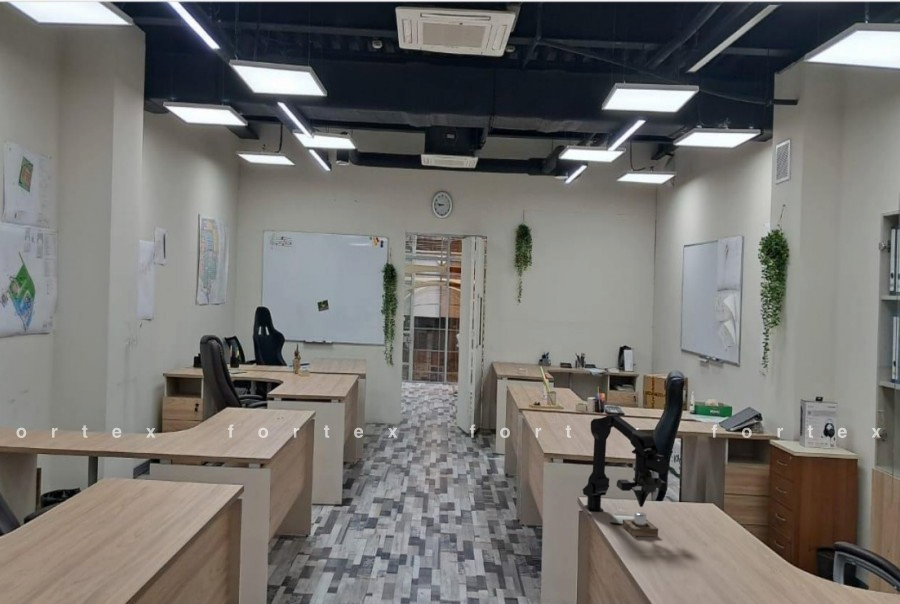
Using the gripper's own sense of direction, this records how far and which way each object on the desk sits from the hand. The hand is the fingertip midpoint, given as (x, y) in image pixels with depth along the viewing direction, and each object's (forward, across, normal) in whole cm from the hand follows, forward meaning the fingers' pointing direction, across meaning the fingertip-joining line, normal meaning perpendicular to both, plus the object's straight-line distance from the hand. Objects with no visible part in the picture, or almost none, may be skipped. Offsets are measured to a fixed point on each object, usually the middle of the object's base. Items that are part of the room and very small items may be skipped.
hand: (640, 506), depth 247 cm
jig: (+10, 0, 0) cm, 10 cm away
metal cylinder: (+10, 0, 0) cm, 10 cm away
